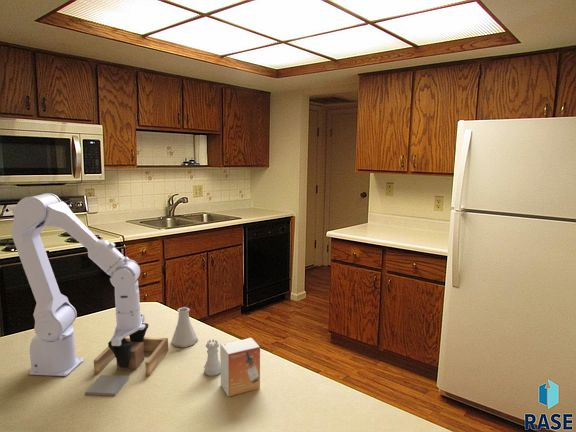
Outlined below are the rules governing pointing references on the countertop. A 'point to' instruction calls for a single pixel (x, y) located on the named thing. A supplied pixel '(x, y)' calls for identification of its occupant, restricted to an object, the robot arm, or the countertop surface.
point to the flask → (184, 330)
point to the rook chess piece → (212, 359)
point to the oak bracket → (149, 345)
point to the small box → (240, 366)
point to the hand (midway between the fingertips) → (130, 359)
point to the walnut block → (135, 356)
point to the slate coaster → (107, 385)
